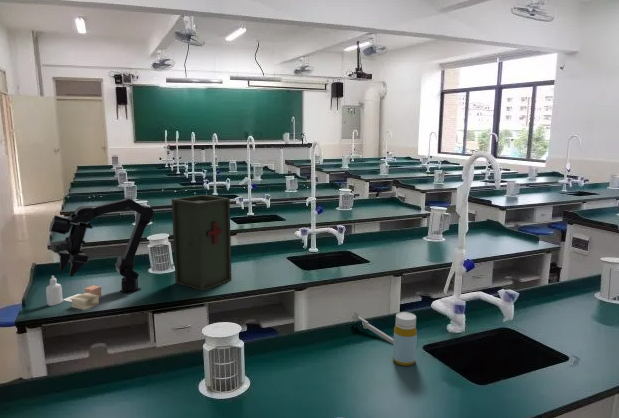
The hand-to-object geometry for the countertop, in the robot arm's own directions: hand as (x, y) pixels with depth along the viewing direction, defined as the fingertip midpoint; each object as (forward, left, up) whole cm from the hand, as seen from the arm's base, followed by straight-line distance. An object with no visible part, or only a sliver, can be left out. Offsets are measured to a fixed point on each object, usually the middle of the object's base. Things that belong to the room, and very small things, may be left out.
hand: (65, 273), depth 189 cm
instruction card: (-5, -2, -13) cm, 14 cm away
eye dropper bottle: (+3, -4, -13) cm, 14 cm away
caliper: (-25, +124, -13) cm, 127 cm away
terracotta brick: (-9, +4, -13) cm, 16 cm away
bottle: (-11, +138, -13) cm, 139 cm away
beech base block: (-1, +9, -13) cm, 16 cm away
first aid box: (-46, +34, -13) cm, 59 cm away
